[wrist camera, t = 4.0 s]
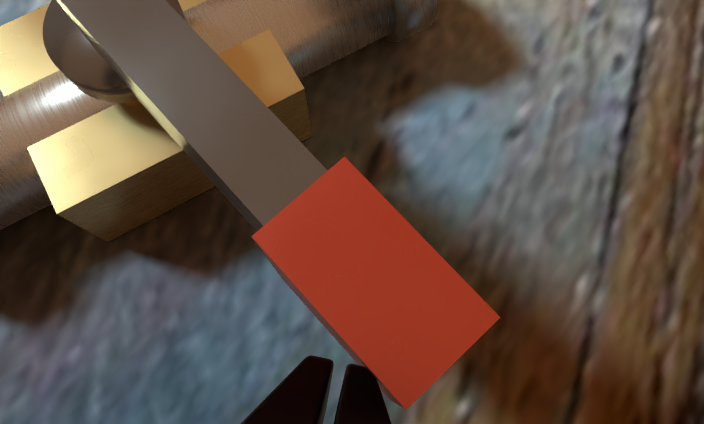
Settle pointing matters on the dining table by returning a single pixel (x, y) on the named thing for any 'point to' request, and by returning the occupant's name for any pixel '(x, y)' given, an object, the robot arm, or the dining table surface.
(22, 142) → the valve body
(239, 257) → the dining table surface
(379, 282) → the lever
